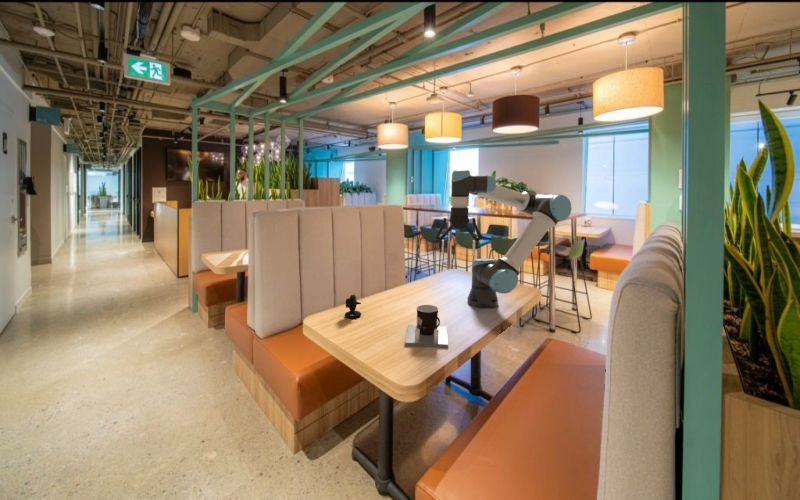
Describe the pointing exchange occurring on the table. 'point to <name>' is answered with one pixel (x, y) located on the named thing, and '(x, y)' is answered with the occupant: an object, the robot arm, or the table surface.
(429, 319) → the coffee mug
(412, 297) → the table surface
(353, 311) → the webcam
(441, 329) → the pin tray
